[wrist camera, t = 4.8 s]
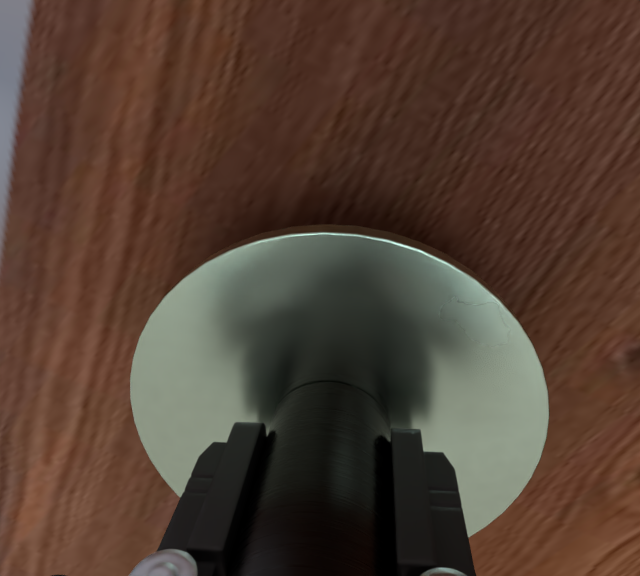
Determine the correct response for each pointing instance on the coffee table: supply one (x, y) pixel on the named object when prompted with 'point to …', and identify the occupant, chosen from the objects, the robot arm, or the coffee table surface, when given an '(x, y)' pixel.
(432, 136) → the coffee table surface
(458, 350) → the pot lid
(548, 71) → the coffee table surface
